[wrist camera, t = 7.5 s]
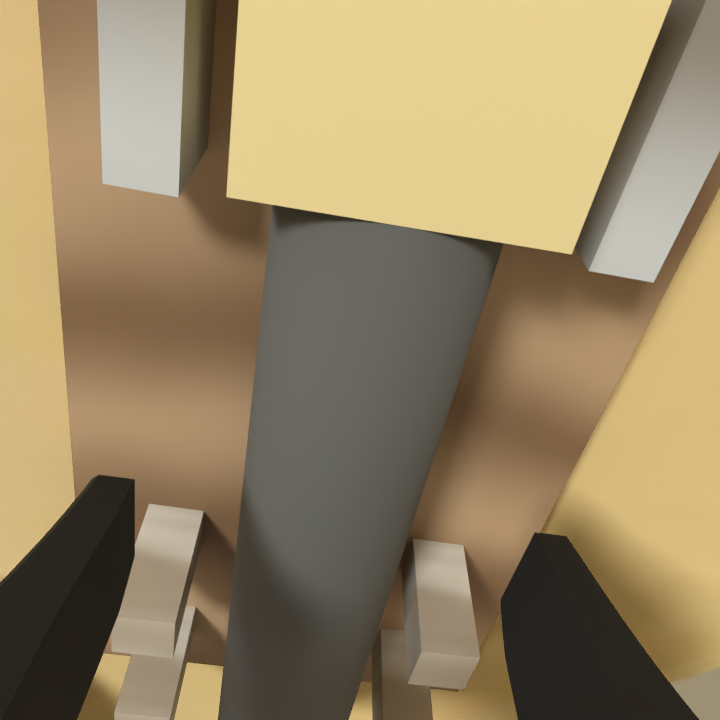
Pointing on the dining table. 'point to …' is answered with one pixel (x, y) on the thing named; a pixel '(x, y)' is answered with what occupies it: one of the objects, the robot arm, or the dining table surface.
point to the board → (242, 320)
